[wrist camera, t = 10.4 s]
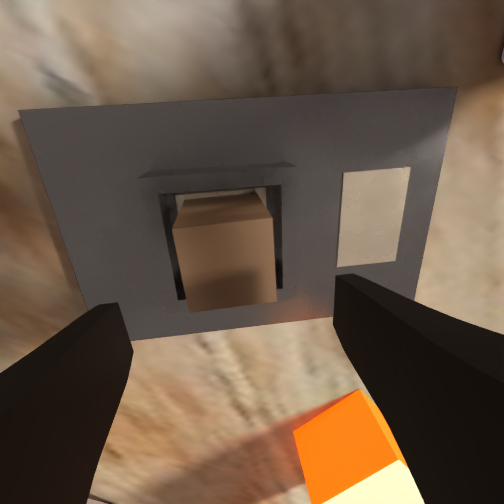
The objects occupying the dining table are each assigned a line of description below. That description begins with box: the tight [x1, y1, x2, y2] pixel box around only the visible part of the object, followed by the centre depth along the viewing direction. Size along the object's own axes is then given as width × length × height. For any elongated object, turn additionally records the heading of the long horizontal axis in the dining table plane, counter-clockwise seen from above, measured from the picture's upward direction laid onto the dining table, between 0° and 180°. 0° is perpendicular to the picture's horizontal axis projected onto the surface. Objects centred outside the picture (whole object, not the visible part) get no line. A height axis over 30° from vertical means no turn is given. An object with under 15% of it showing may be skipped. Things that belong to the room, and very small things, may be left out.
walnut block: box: [172, 192, 277, 313], centre depth 14 cm, size 4×4×5 cm
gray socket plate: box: [18, 87, 458, 341], centre depth 17 cm, size 22×14×3 cm, turn 93°
